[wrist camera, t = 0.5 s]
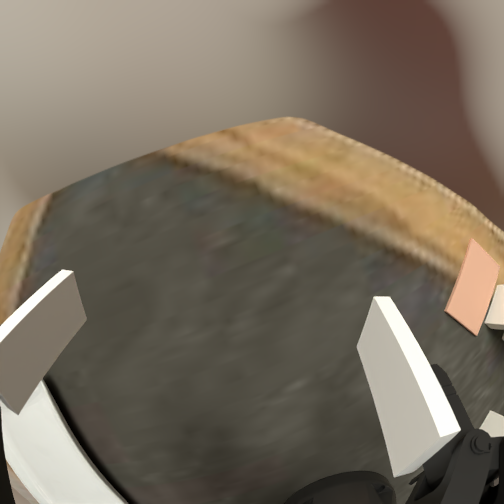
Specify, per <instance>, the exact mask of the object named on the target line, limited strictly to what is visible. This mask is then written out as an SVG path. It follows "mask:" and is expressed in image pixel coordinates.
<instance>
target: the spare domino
mask: <svg viewBox="0 0 504 504" xmlns="http://www.w3.org/2000/svg"><path fill="white" fill-rule="evenodd" d="M480 429H482V430H484V431H486V432H487V433H488V434H489V435H490V436H491V437H500V436H504V416H502V415H500V414H497V413H495V412H493V411H491V410H490V412H489V414H488V416H487V417H486V419H485V421H484V422H483V424H482V425H481V427H480Z"/></svg>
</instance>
